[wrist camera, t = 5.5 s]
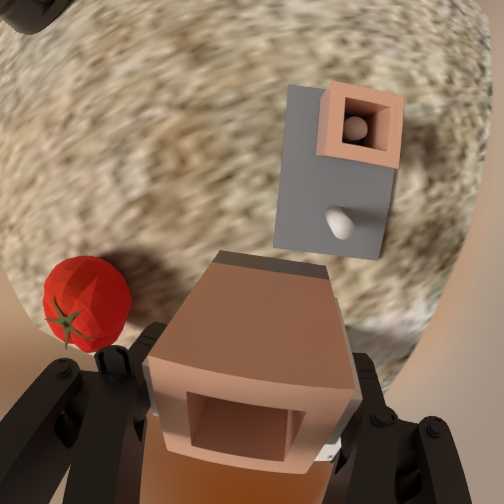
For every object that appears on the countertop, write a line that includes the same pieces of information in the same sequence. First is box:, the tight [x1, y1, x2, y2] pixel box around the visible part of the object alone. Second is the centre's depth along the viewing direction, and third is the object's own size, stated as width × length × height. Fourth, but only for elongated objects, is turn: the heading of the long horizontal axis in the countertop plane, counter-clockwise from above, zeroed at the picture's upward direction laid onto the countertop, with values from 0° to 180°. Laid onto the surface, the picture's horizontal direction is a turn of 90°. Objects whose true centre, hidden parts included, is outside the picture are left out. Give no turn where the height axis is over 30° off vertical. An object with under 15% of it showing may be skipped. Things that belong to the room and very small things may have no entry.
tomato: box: [43, 256, 132, 353], centre depth 28 cm, size 12×12×10 cm
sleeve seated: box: [314, 81, 404, 169], centre depth 19 cm, size 5×5×8 cm
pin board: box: [273, 85, 395, 261], centre depth 23 cm, size 16×11×6 cm
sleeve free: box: [148, 250, 355, 474], centre depth 11 cm, size 5×5×8 cm
